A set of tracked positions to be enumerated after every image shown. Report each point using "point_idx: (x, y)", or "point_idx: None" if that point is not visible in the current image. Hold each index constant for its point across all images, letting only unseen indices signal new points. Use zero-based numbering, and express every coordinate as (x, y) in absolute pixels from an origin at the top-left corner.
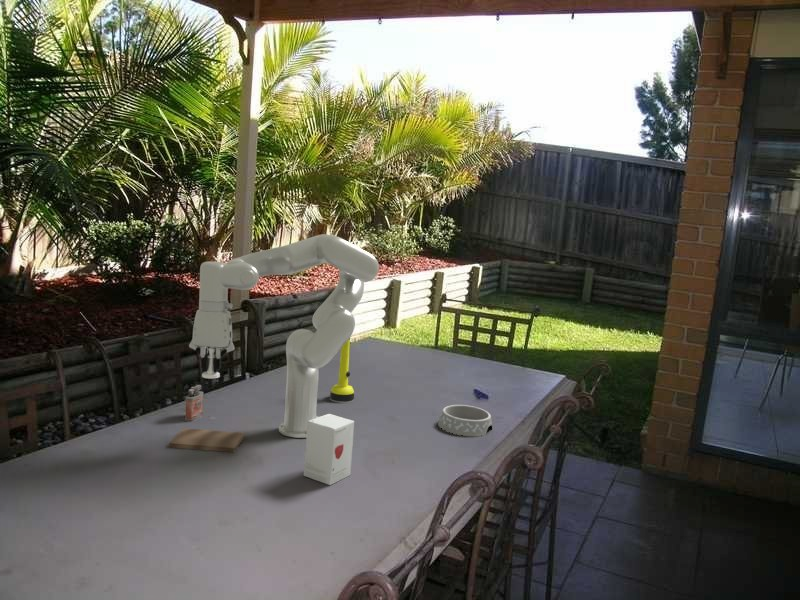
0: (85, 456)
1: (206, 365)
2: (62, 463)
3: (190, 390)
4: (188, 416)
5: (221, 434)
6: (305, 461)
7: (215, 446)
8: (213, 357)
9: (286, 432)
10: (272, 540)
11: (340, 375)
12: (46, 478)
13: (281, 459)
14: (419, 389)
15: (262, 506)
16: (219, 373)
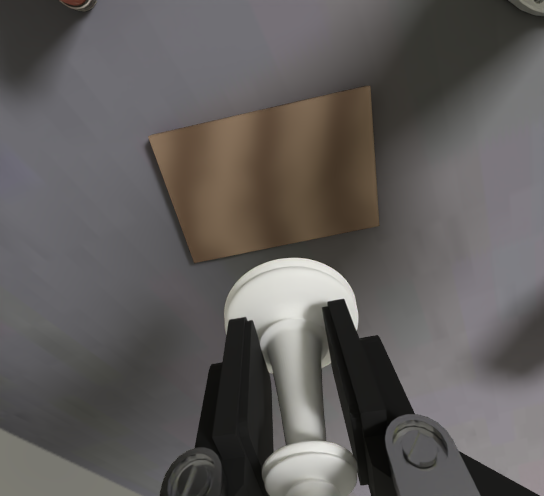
0: (74, 360)
1: (269, 414)
2: (69, 394)
3: None
4: (74, 2)
5: (298, 139)
6: None
7: (323, 236)
8: (346, 488)
9: (533, 4)
10: (518, 460)
11: None
12: (105, 437)
13: (514, 217)
14: None
15: (493, 403)
16: (351, 301)
